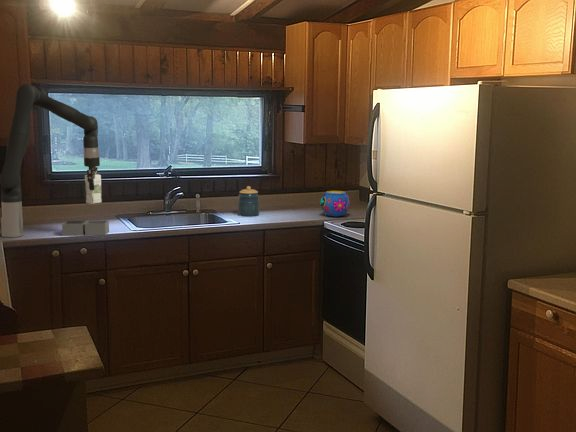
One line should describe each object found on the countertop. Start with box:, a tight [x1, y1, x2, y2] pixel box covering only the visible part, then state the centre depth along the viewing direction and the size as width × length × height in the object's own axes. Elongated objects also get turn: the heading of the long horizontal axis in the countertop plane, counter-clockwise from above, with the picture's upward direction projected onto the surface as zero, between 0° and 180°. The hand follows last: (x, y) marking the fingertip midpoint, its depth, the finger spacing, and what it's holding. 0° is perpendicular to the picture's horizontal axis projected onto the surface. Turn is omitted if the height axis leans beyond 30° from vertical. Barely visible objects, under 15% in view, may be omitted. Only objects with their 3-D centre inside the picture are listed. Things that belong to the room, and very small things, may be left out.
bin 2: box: [84, 219, 110, 237], centre depth 331 cm, size 10×10×6 cm
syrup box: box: [84, 174, 103, 205], centre depth 328 cm, size 6×6×14 cm
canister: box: [237, 185, 260, 217], centre depth 394 cm, size 13×13×18 cm
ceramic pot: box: [319, 190, 351, 218], centre depth 392 cm, size 18×18×15 cm
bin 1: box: [61, 220, 88, 237], centre depth 330 cm, size 10×10×6 cm
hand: (93, 189), depth 328 cm, fingers closed on syrup box, 8 cm apart
